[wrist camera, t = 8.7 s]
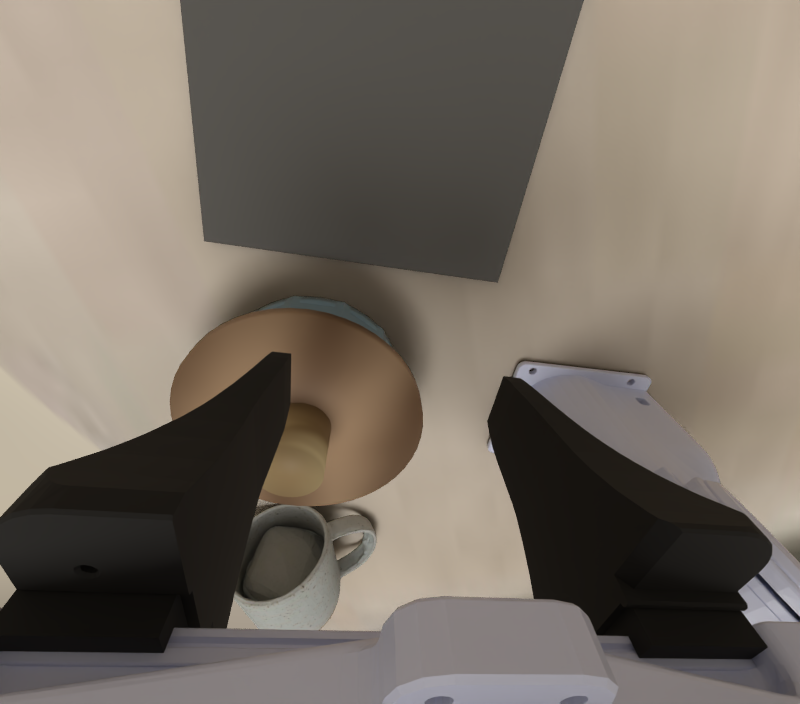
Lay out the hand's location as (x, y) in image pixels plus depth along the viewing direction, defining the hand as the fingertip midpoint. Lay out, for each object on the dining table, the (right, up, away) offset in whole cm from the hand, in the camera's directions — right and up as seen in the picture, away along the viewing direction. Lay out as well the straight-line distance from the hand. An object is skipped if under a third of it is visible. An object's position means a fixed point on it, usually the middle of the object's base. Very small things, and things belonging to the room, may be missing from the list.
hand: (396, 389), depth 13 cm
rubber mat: (-1, +12, +5) cm, 13 cm away
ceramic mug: (-8, -14, +20) cm, 26 cm away
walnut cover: (-5, -2, +8) cm, 10 cm away
